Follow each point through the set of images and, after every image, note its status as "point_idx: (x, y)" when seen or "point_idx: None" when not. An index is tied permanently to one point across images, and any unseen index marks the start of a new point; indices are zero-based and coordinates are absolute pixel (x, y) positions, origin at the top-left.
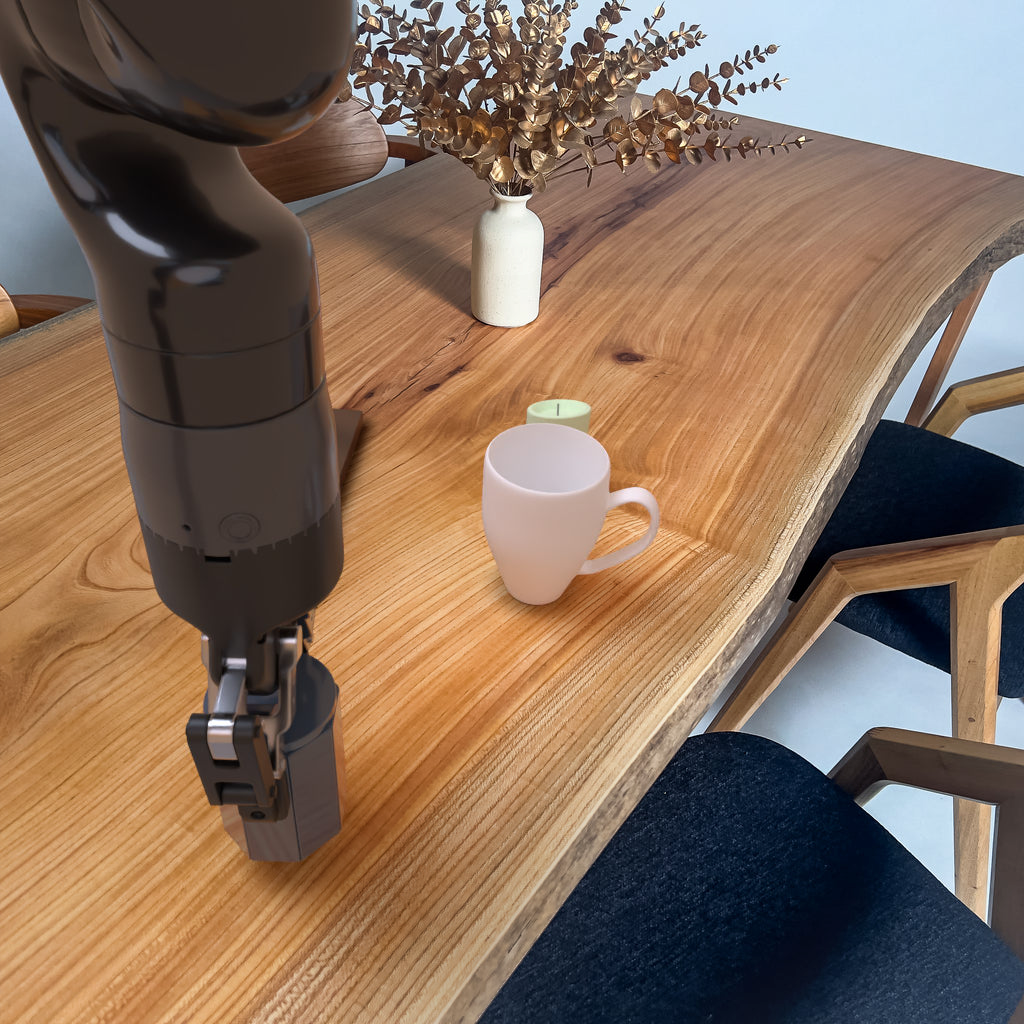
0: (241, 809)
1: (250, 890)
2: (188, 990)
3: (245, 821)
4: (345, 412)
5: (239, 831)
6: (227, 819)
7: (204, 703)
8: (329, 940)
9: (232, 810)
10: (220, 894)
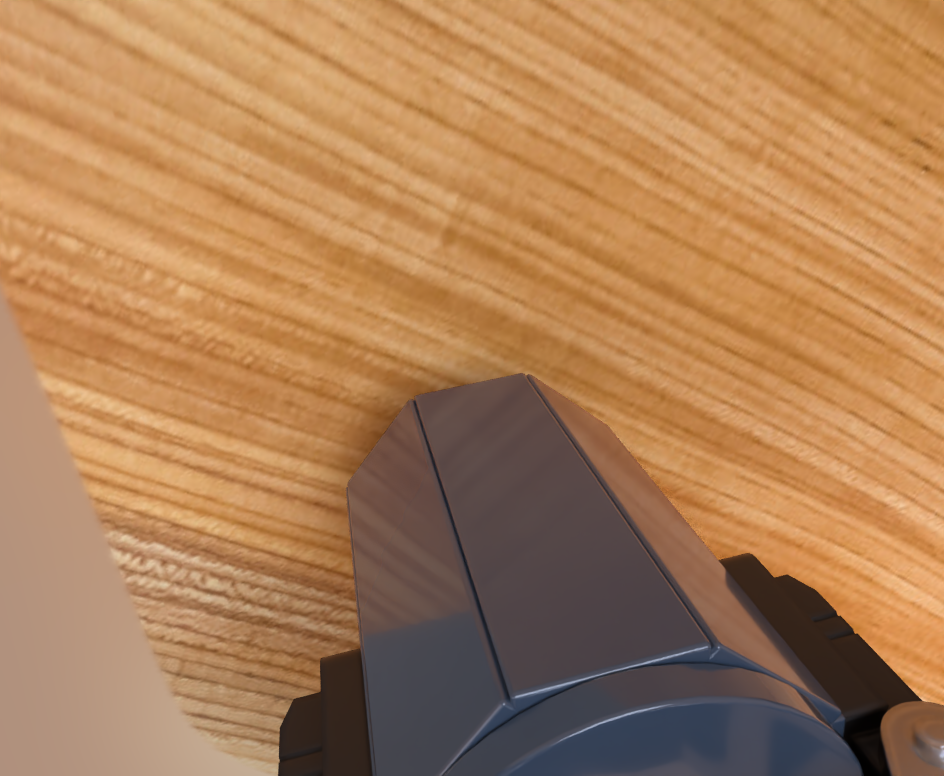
0: (280, 768)
1: (335, 420)
2: (100, 393)
3: (291, 705)
4: None
5: (367, 510)
6: (399, 461)
7: (581, 739)
8: (275, 587)
9: (383, 540)
10: (312, 367)
